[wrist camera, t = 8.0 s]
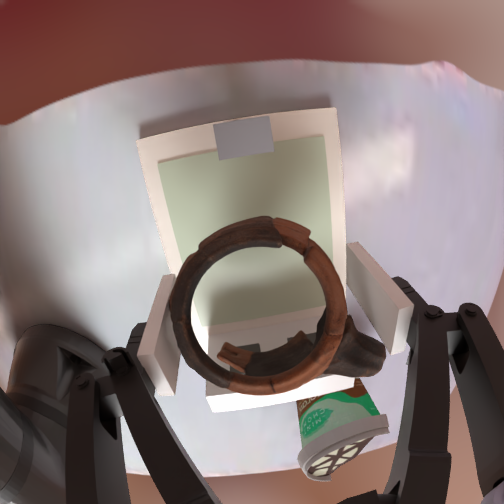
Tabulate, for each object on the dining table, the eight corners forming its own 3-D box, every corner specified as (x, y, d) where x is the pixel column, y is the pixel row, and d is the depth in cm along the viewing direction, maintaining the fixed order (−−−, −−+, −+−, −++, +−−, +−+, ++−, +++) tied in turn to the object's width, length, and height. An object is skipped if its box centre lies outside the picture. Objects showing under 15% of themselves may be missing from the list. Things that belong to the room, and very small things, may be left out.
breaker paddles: (231, 354, 23) (232, 382, 21) (229, 347, 23) (229, 375, 20) (316, 339, 23) (326, 365, 21) (316, 332, 23) (326, 358, 20)
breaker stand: (200, 351, 28) (196, 418, 21) (139, 139, 19) (94, 152, 12) (341, 326, 28) (370, 386, 21) (331, 107, 19) (383, 106, 12)
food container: (314, 354, 30) (340, 433, 20) (360, 360, 31) (393, 429, 22) (271, 418, 34) (281, 485, 25) (313, 420, 35) (328, 482, 26)
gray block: (222, 145, 19) (219, 160, 12) (218, 122, 18) (212, 124, 12) (257, 139, 19) (274, 151, 12) (254, 116, 19) (269, 115, 12)
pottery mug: (180, 344, 20) (131, 381, 12) (219, 214, 21) (190, 174, 12) (343, 390, 19) (381, 446, 11) (383, 264, 20) (447, 255, 12)
